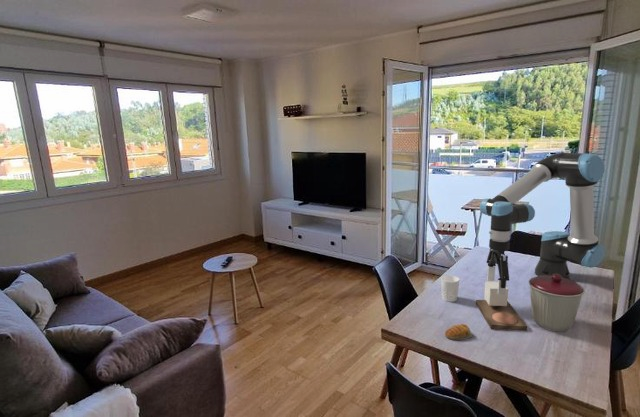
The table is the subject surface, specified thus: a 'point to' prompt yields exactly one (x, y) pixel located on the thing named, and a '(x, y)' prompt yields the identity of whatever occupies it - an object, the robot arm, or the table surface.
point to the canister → (554, 301)
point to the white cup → (449, 287)
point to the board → (501, 317)
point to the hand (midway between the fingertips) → (495, 287)
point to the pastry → (458, 332)
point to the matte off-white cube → (494, 295)
